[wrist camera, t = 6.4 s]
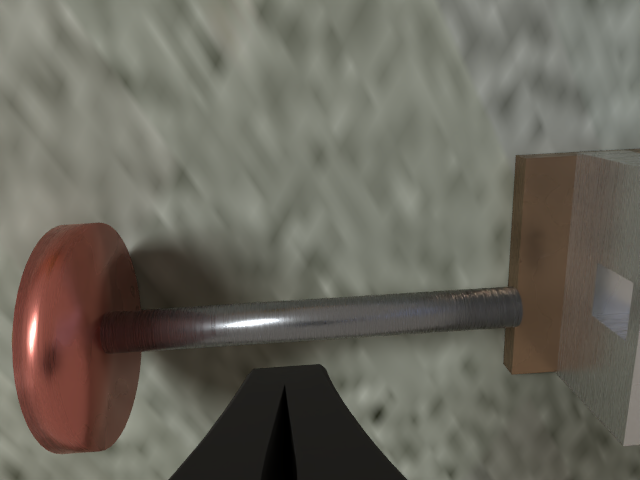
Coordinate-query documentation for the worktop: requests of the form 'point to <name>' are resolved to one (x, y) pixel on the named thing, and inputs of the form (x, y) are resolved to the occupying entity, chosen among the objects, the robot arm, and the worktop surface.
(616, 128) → the worktop surface
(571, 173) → the eye bracket
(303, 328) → the red wheel with axle
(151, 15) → the worktop surface
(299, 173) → the worktop surface
